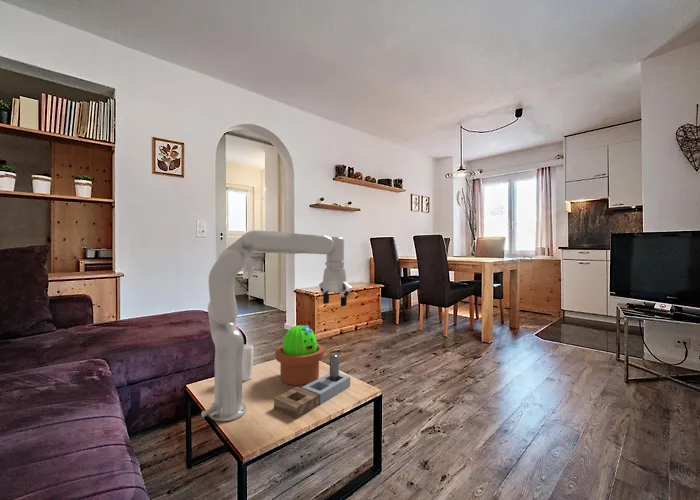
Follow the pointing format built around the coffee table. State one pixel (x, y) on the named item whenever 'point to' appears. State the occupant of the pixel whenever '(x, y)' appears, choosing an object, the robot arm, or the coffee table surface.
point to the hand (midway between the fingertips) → (334, 304)
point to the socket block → (296, 402)
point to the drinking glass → (247, 362)
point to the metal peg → (334, 367)
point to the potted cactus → (299, 356)
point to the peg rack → (327, 387)
